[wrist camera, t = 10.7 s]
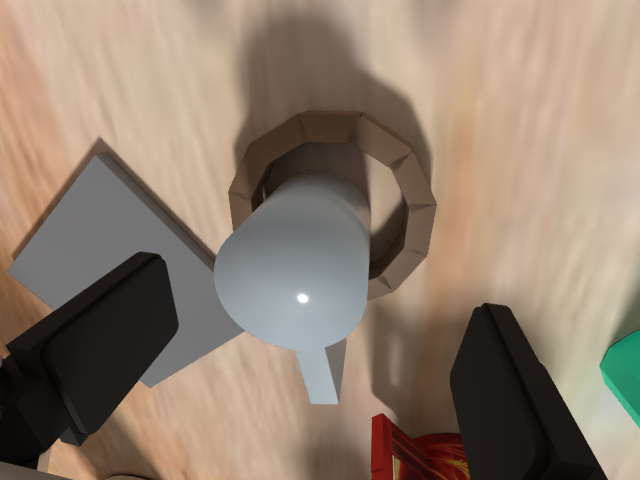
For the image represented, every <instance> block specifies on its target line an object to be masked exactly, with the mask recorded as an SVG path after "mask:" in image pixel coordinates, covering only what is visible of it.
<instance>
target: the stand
mask: <svg viewBox="0 0 640 480" xmlns="http://www.w3.org/2000/svg"><path fill="white" fill-rule="evenodd" d="M361 115H362V116H361ZM304 142H323V143H352V144H353V145H355V146H356V147H358V148H360V149H361V150H363V151H364V152H366V153H367V154H369V155H370V156H372V157H373V158H375V159H376V160H378V161H380V162H381V163H383V164H384V165H386V166H387V167H389V168H390V169H391V170H392V172H393V174H394V176H395V178H396V181H397V183H398V185H399V187H400V189H401V191H402V193H403V195H404V198H405V200H406V205H405V213H404V220H403V227H402V234H401V235H400V236H399V237H398V238H397V240H396V241H395V242H394V243H393V244H392V246H391V247H390V248H389V249H388V250H387V252H386V253H385V254H384V255H383V256H382V258H381V259H380V260H379V261H376V262H374V263H371V264H369V275H368V293H367V301H368V300H371V299H374V298H377V297H380V296H383V295H386V294H389V293H392V292H393V290H394V291H395V290H396V289H397V288H398V287H399V286H400V285H401V284H402V283H403V281H404V280H405V279H406V278H407V277H408V276H409V275H410V274H411V273H412V272H413V271H414V270H415V268H416V267H417V266H418V265H419V264H420V263H421V262H422V261H423V260H424V259H425V258H426V257H427V255H428V249H429V244H430V238H431V233H432V227H433V222H434V216H435V211H436V206H437V204H436V201H435V199H434V196H433V194H432V192H431V189H430V187H429V185H428V182H427V180H426V178H425V175H424V173H423V171H422V169H421V166H420V164H419V162H418V159H417V157H416V155H415V152H414V150H413V149H412V147H411V145H410V144H409V143H408V142H407V141H405V140H404V139H402V138H401V137H399V136H398V135H396V134H395V133H393V132H392V131H390V130H389V129H387V128H386V127H384V126H383V125H381V124H380V123H378V122H377V121H375V120H374V119H372V118H371V117H369V116H368V115H366V114H365V113H363V114H362V112H333V111H305V112H302V113H300V114H297V115H295V116H294V117H292V118H291V119H289V120H287V121H286V122H284V123H283V124H281V125H279V126H278V127H276V128H275V129H273V130H271V131H270V132H268V133H267V134H265V135H263V136H262V137H260V138H258V139H257V140H255V141H254V142H252V143H250V145H249V146H248V148H247V151H246V153H245V155H244V157H243V160H242V162H241V164H240V166H239V168H238V171H237V173H236V175H235V177H234V180H233V182H232V184H231V186H230V188H229V192H228V193H229V201H230V209H231V217H232V224H233V232H234V231H235V230H236V229H237V228H238V227H239V226H240V225H241V224H242V223H243V222H244V221H245V220H246V219H247V218H248V217H249V216H250V215H251V214H252V213H253V212H254V211H255V210H256V209H257V208H258V207H259V206H260V205H261V204H262V203H263V191H262V188H263V186H264V184H265V182H266V180H267V178H268V176H269V174H270V172H271V170H272V169H273V167H274V165H275V163H276V161H277V159H278V158H279V157H280V156H282V155H284V154H285V153H287V152H289V151H291V150H292V149H294V148H296V147H297V146H299V145H301V144H303V143H304Z"/></svg>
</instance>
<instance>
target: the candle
mask: <svg viewBox="0 0 640 480" xmlns="http://www.w3.org/2000/svg"><path fill="white" fill-rule="evenodd" d="M600 369H601V372H602V375H603V378H604V381H605V384H606V385H607V386H608V387H609V389H610V390H611V391H612V393H613V394H614V395H615V397H616V398H617V399H618V401H619V402H620V403H621V404H622V406H623V407H624V408H625V410H626V411H627V412H628V414H629V415H630V416H631V418H632V419H633V420H634V421H635V423H636V424H637V425H638V427H639V428H640V331H635V332H633V333H632V334H630V335H628V336H627V337H625V338H624V339H622V340H621V341H619V342H618V343H616V344H615V345H613V346H612V347H610V348H609V350H608V352H607V354H606V355H605V357H604V359H603V361H602V363H601V365H600Z"/></svg>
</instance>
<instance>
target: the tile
mask: <svg viewBox="0 0 640 480" xmlns="http://www.w3.org/2000/svg"><path fill="white" fill-rule="evenodd" d="M140 251H143V252H149V253H156V254H159V255H160V256H161V257H162V259H163V260H165V261H166V264H167V269H168V274H169V279H170V283H171V288H172V293H173V298H174V303H175V307H176V312H177V317H178V322H179V328H178V331H177V333H176V335H175V336H174V337H173V338H172V340H171V341H170V342H169V343H168V345H167V346H166V347H165V348H164V349H163V351H162V352H161V353H160V354H159V356H158V357H157V358H156V359H155V361H154V362H153V363H152V364H151V366H150V367H149V368H148V369H147V370H146V372H145V373H144V374H143V375H142V377H141V378H140V379H139V380H140V381H141V382H143V383H144V384H145V385H146V386H147V387H149V388H151V387H153V386H154V385H156V384H158V383H159V382H161V381H163V380H164V379H166V378H168V377H169V376H171V375H173V374H174V373H176V372H178V371H179V370H181V369H183V368H184V367H186V366H188V365H189V364H191V363H193V362H194V361H196V360H198V359H199V358H201V357H203V356H204V355H206V354H208V353H209V352H211V351H213V350H214V349H216V348H218V347H219V346H221V345H223V344H224V343H226V342H228V341H229V340H231V339H233V338H234V337H236V336H238V335H239V334H241V333H243V332H244V331H245V330H244V329H243V328H241V327H240V326H239V325H238V324H237V323H236V322H235V321H234V320H233V319H232V318H231V317H230V315H229V314H228V313H227V312H226V310H225V308H224V307H223V305H222V303H221V301H220V299H219V297H218V294H217V291H216V288H215V283H214V264H215V262H214V261H213V260H212V259H211V258H210V257H209V256H208V255H207V254H206V253H205V252H204V251H203V250H202V249H201V248H200V247H199V246H198V245H197V244H196V243H195V242H194V241H193V240H192V239H191V238H190V237H189V236H188V235H187V234H186V233H185V232H184V231H183V230H182V229H181V228H180V227H179V226H178V225H177V224H176V223H175V222H174V221H173V220H172V219H171V218H170V217H169V216H168V215H167V214H166V213H165V212H164V211H163V209H162V208H161V207H160V206H159V205H158V204H157V203H156V202H155V201H154V200H153V199H152V198H151V197H150V196H149V195H148V194H147V193H146V192H145V191H144V190H143V189H142V188H141V187H140V186H139V185H138V184H137V183H136V182H135V181H134V180H133V179H132V178H131V177H130V176H129V175H128V174H127V173H126V172H125V171H124V170H123V169H122V168H121V167H120V166H119V165H118V164H117V163H116V162H115V161H114V160H113V159H112V158H111V157H110V156H109V155H108V154H107V153H106V152H105V153H101V154H97V155H95V156H94V157H93V158H92V160H91V161H90V162H89V163H88V165H87V166H86V167H85V169H84V170H83V171H82V173H81V174H80V175H79V177H78V178H77V179H76V181H75V182H74V183H73V185H72V186H71V187H70V189H69V190H68V191H67V193H66V194H65V195H64V196H63V198H62V199H61V200H60V202H59V203H58V204H57V206H56V207H55V208H54V210H53V211H52V212H51V214H50V215H49V216H48V218H47V219H46V220H45V222H44V223H43V224H42V226H41V227H40V228H39V229H38V231H37V232H36V233H35V235H34V236H33V237H32V239H31V240H30V241H29V243H28V244H27V245H26V247H25V248H24V249H23V251H22V252H21V253H20V255H19V256H18V257H17V258H16V260H15V261H14V262H13V264H12V265H11V266H10V268H9V269H8V270H7V273H8V274H10V275H11V276H12V277H13V278H14V279H16V280H17V281H18V282H19V283H21V284H22V285H23V286H24V287H26V288H27V289H28V290H29V291H30V292H32V293H33V294H34V295H35V296H37V297H38V298H39V299H40V300H42V301H43V302H44V303H45V304H46V305H48V306H49V307H50V308H51V309H53V310H54V311H55V310H56V309H58V308H59V307H61V306H62V305H63V304H65V303H66V302H68V301H69V300H70V299H72V298H73V297H75V296H76V295H78V294H79V293H80V292H82V291H83V290H85V289H86V288H87V287H89V286H90V285H92V284H93V283H94V282H96V281H97V280H99V279H100V278H102V277H103V276H104V275H106V274H107V273H109V272H110V271H111V270H113V269H114V268H116V267H117V266H119V265H120V264H121V263H123V262H124V261H126V260H127V259H128V258H130V257H131V256H133V255H134V254H135V253H137V252H140Z"/></svg>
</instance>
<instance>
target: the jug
mask: <svg viewBox="0 0 640 480" xmlns="http://www.w3.org/2000/svg"><path fill="white" fill-rule="evenodd" d="M370 237H371V213H370V208H369V205H368V202H367V200H366V198H365V197H364V195H363V194H362V192H361V191H360V189H359V188H358V187H357V186H356V185H355V184H354V183H352V182H351V181H350V180H348V179H347V178H345V177H344V176H342V175H339V174H337V173H334V172H331V171H327V170H307V171H303V172H300V173H297V174H295V175H293V176H291V177H289V178H288V179H287V180H285V181H284V182H283V183H282V184H281V185H280V186H279V187H278V188H277V189H276V190H275V191H274V192H273V193H272V194H271V195H270V196H269V197H268V198H267V199H266V200H265V201H264V202H263V203H262V204H261V205H260V206H259V207H258V208H257V209H256V210H255V211H254V212H253V213H252V214H251V215H250V216H249V217H248V218H247V219H246V220H245V221H244V222H243V223H242V224H241V225H240V226H239V227H238V228H237V229H236V230H235V231H234V232H233V233H232V234H231V235H230V236H229V238H228V239H227V240H226V241H225V242H224V243H223V245H222V246H221V248H220V250H219V252H218V254H217V257H216V260H215V264H214V283H215V288H216V291H217V294H218V297H219V299H220V301H221V303H222V305H223V307H224V308H225V310H226V312H227V313H228V314H229V315H230V317H231V318H232V319H233V320H234V321H235V322H236V323H237V324H238V325H239V326H240V327H241V328H243V329H244V330H245V331H246V332H248V333H249V334H251V335H252V336H254V337H256V338H258V339H259V340H261V341H264V342H266V343H268V344H271V345H274V346H277V347H281V348H285V349H292V350H295V353H296V356H297V360H298V363H299V366H300V370H301V373H302V376H303V379H304V383H305V386H306V389H307V392H308V396H309V399H310V402H311V404H339V399H340V391H341V383H342V375H343V367H344V359H345V351H346V343H347V342H346V337H347V336H348V335H349V334H350V333H351V332H352V331H353V330H354V329H355V328H356V327H357V325H358V324H359V322H360V321H361V319H362V317H363V314H364V312H365V309H366V304H367V293H368V275H369V256H370Z"/></svg>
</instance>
